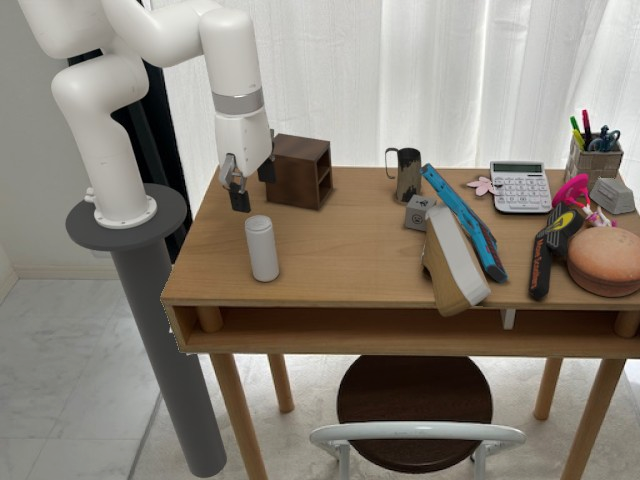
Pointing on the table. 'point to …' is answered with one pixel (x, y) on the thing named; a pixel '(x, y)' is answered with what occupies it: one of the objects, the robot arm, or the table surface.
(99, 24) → the robot arm
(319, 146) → the divided wooden organizer
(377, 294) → the table surface
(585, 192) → the figurine
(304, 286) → the table surface
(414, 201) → the dice cube
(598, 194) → the mineral specimen
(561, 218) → the decorative sign
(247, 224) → the beverage can
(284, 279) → the table surface
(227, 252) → the table surface
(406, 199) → the mug
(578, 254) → the round sponge cake
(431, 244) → the sneaker
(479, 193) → the flower
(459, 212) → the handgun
